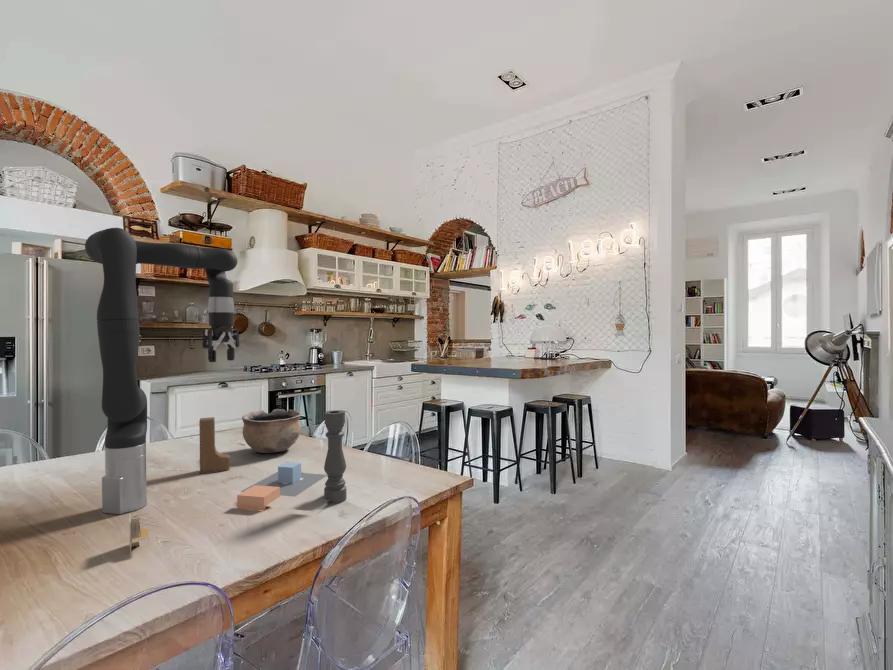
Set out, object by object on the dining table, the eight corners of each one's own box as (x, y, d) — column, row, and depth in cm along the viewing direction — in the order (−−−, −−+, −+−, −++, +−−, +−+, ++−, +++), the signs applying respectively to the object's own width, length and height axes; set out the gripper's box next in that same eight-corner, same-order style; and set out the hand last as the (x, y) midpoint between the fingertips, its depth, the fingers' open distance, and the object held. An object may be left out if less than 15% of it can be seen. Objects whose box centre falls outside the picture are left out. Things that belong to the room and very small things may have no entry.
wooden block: (229, 466, 164) (228, 415, 164) (229, 470, 160) (229, 418, 160) (200, 470, 161) (200, 418, 160) (200, 473, 157) (199, 420, 156)
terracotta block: (264, 511, 125) (263, 497, 125) (237, 509, 126) (237, 495, 126) (280, 500, 133) (280, 487, 133) (254, 499, 134) (254, 485, 134)
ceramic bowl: (302, 443, 198) (302, 407, 198) (300, 456, 177) (300, 417, 177) (246, 446, 192) (246, 410, 192) (237, 461, 171) (237, 420, 171)
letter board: (294, 500, 132) (294, 496, 132) (239, 495, 137) (239, 491, 137) (328, 477, 152) (328, 474, 152) (279, 474, 156) (279, 470, 156)
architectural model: (147, 542, 108) (147, 510, 108) (149, 554, 102) (148, 520, 102) (129, 546, 106) (129, 513, 106) (130, 558, 100) (129, 524, 100)
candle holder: (324, 504, 129) (323, 414, 129) (324, 496, 135) (323, 410, 135) (347, 502, 131) (346, 413, 130) (345, 494, 137) (345, 409, 136)
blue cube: (292, 483, 143) (292, 467, 143) (278, 482, 144) (277, 466, 144) (301, 478, 148) (301, 462, 148) (286, 477, 149) (286, 462, 149)
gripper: (215, 310, 144) (216, 363, 144) (245, 312, 158) (246, 359, 158) (195, 310, 146) (195, 362, 146) (226, 312, 160) (226, 359, 160)
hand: (221, 361), depth 152 cm, fingers open, 8 cm apart
